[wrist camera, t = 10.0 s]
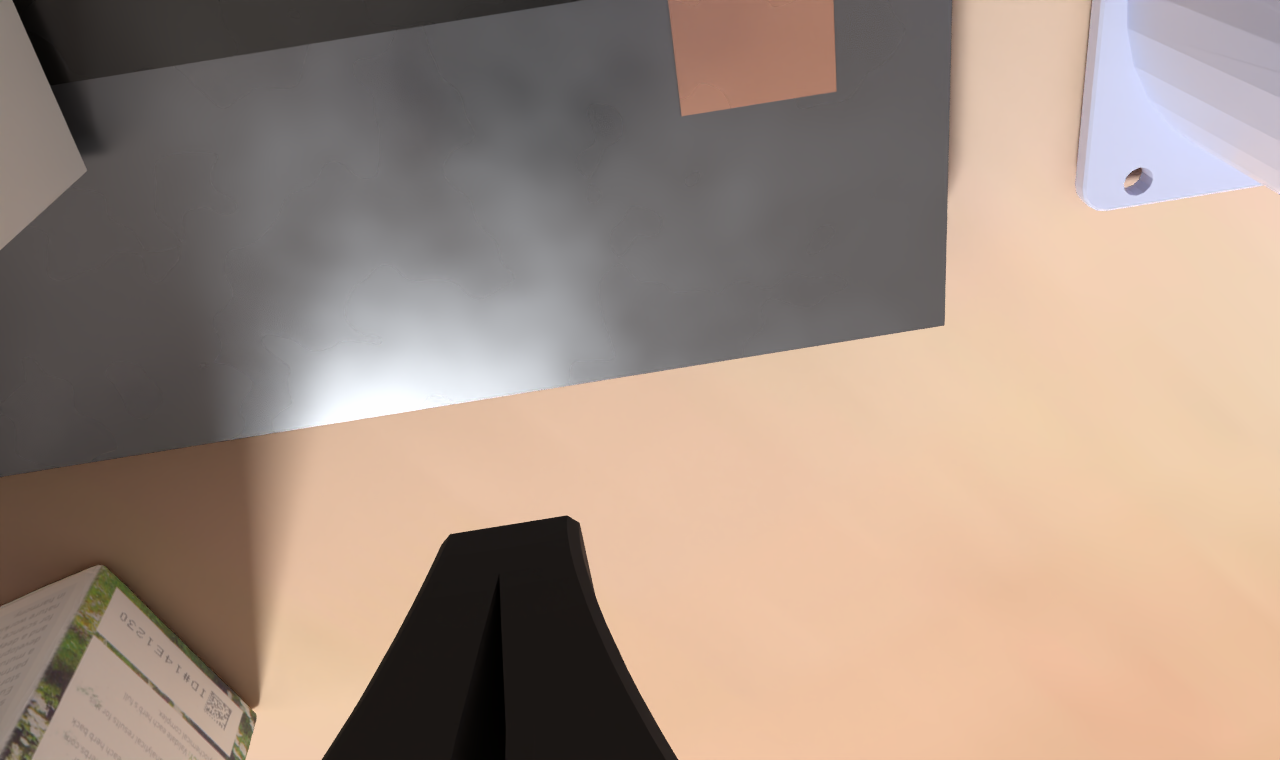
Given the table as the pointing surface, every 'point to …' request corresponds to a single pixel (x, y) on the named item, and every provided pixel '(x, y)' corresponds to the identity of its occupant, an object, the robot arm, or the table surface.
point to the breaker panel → (457, 204)
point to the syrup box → (108, 681)
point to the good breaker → (29, 133)
